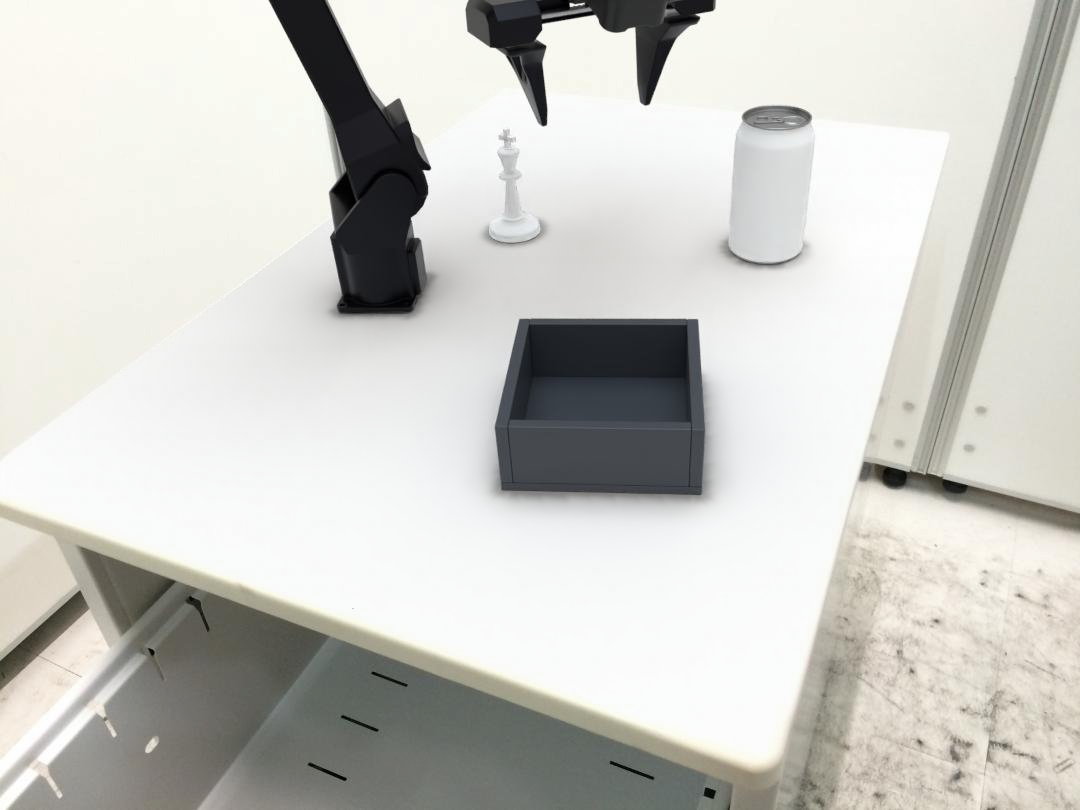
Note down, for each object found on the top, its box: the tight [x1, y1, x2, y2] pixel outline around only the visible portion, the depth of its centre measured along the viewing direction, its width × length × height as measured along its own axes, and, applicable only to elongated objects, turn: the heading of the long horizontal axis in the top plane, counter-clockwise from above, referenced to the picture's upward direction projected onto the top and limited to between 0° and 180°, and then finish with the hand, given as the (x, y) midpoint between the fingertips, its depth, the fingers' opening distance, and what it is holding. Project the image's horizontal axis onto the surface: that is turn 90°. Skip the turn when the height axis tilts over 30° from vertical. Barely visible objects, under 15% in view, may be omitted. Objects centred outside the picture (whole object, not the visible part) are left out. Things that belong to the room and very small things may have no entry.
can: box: [728, 104, 816, 265], centre depth 80 cm, size 6×6×12 cm
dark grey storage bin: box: [494, 317, 706, 495], centre depth 63 cm, size 13×13×5 cm
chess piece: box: [488, 127, 542, 244], centre depth 87 cm, size 5×5×10 cm
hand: (594, 114), depth 77 cm, fingers open, 9 cm apart
